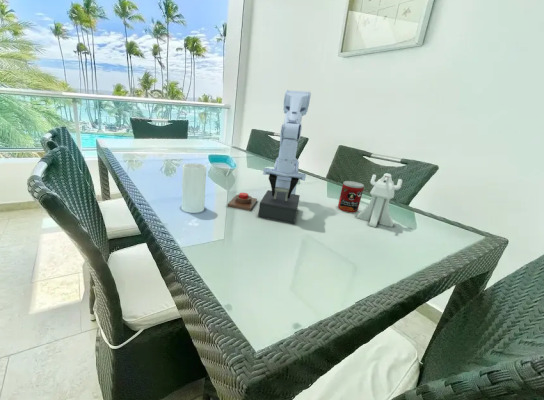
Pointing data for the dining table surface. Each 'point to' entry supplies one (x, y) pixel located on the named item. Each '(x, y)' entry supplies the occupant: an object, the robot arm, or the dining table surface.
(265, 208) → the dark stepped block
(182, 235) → the dining table surface
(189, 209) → the cup
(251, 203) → the control block
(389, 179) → the white mech figurine
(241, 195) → the button
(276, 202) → the lid
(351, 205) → the canned food
